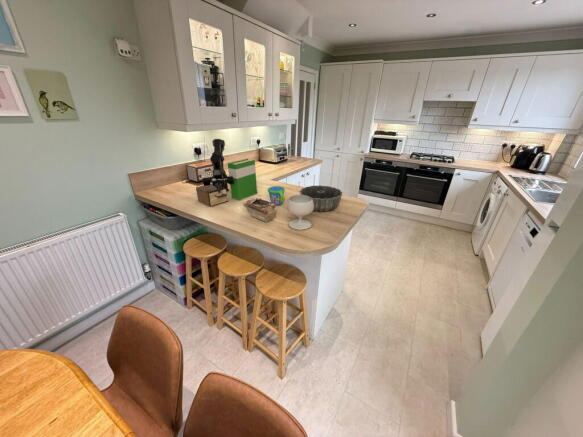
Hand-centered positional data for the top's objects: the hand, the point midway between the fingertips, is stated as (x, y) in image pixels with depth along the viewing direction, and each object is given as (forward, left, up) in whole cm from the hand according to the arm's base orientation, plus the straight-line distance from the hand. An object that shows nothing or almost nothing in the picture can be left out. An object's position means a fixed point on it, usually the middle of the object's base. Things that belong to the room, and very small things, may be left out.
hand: (219, 192), depth 145 cm
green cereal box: (-22, -3, -9) cm, 24 cm away
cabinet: (0, -11, -9) cm, 14 cm away
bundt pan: (-41, +48, -9) cm, 64 cm away
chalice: (-13, +55, -9) cm, 57 cm away
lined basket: (-4, +31, -9) cm, 33 cm away
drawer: (0, -6, -8) cm, 10 cm away
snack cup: (-26, +24, -9) cm, 37 cm away
